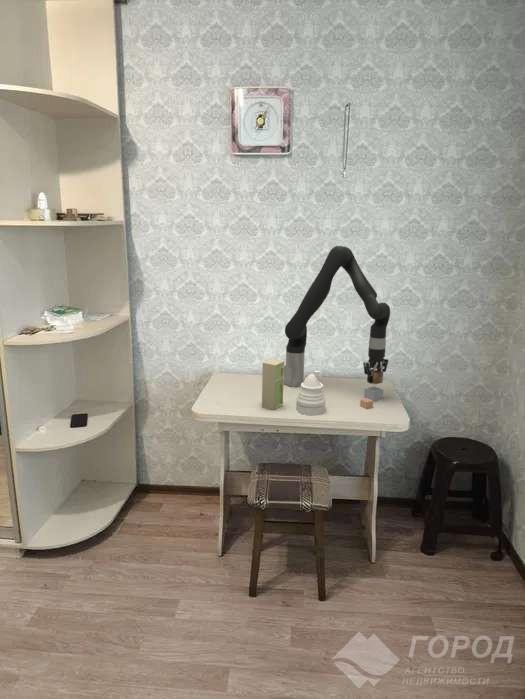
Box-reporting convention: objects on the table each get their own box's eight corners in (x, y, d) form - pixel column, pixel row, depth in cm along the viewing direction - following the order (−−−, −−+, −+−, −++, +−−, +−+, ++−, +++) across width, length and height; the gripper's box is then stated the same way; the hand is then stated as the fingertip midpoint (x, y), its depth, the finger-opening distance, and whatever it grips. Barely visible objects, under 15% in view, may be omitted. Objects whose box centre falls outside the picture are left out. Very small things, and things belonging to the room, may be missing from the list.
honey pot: (323, 405, 241) (325, 367, 236) (326, 415, 229) (328, 376, 224) (295, 404, 241) (296, 366, 236) (297, 415, 228) (298, 375, 224)
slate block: (373, 402, 244) (373, 391, 243) (363, 398, 249) (364, 388, 247) (382, 399, 247) (383, 389, 246) (373, 396, 252) (374, 386, 251)
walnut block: (374, 384, 242) (375, 373, 241) (366, 381, 246) (367, 371, 245) (382, 382, 245) (383, 372, 244) (374, 379, 249) (375, 369, 248)
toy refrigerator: (275, 410, 233) (276, 365, 228) (261, 407, 237) (262, 362, 231) (284, 405, 240) (285, 360, 234) (270, 402, 243) (271, 358, 238)
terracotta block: (366, 410, 235) (366, 402, 234) (359, 407, 238) (360, 399, 237) (372, 409, 237) (373, 400, 236) (366, 406, 241) (367, 398, 240)
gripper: (382, 343, 248) (379, 377, 253) (359, 346, 241) (357, 382, 245) (394, 346, 242) (391, 381, 246) (371, 350, 235) (368, 386, 239)
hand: (374, 381), depth 246 cm, fingers closed on walnut block, 5 cm apart
